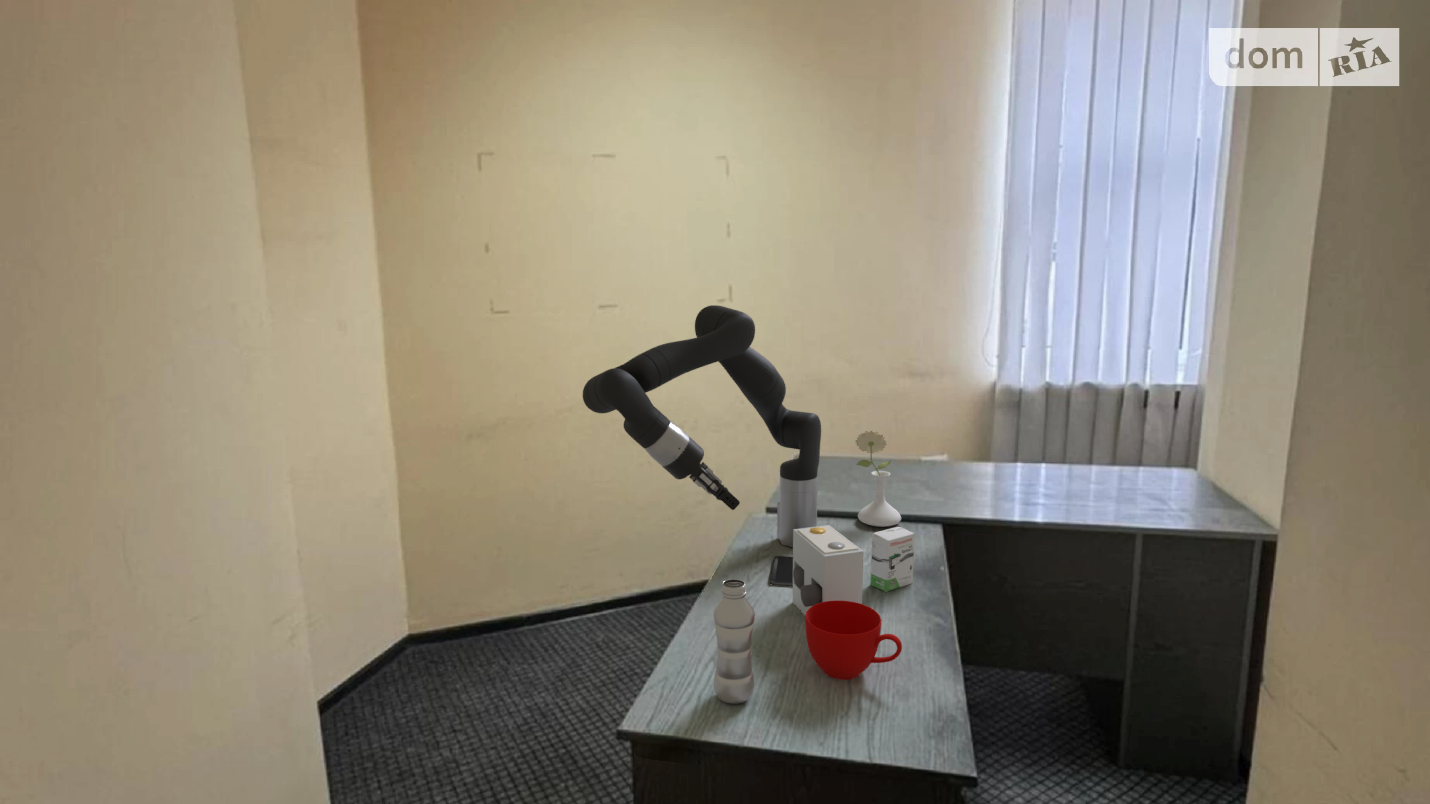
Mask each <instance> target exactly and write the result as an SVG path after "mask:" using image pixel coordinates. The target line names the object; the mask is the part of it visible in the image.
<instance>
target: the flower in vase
mask: <svg viewBox="0 0 1430 804" xmlns="http://www.w3.org/2000/svg"><path fill="white" fill-rule="evenodd" d="M854 441H855V444H856V446H857V447H858V449H859V450H860V451H862V452H866V453H867V454H870V460H868V459H861V460H859V461H858V462H857V463H855V464H856V465H857V466H861V467H864V468H869V467H871V465H873V467H874V469H875V470H874V471H871V473H870V474H871V475H872V477H873V479H874V483H875V497H874V500H872V501H871V502H870V503H869V504H868V505H866V506H864V507H863V508H861V510H860V511H858V513H857V518H858V520H859V521H860V522H861V523H863V524H866V525H868V526H872V527H878V528H879V527H881V528H883V527H885V528H886V527H891V526H895V525H897V524H899V523H900V522H901V521H902V516H901V514H900V512H898V510H897V509H895V507H893V506H892V505H891V504H890V503H888V502H887V500H886V497H885V489H886V484H887V481H888V479H889V478H890V475H891V472H889V471H885V470H880V469H884V468H887V467H888V466H889V465H890V464H891V462H892V461H891V460H889V461H884V462H882V463H880V464H878V466H877V467H876V465H875V463H874V462H873V454H875V453H879V452H882V451H884V449H886V446H887V445H888V443H887V441H886V437H885V436H884V434H881V433H879V431H873V430H870V431H867V430H865V432H861V433H860V434H859V435H858V437H856V439H855V440H854Z"/></svg>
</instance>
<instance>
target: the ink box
mask: <svg viewBox="0 0 1430 804" xmlns="http://www.w3.org/2000/svg"><path fill="white" fill-rule="evenodd" d="M915 536H916V535H915V532H913V531H911V530H907V529H906V528H904V527H900V526H895V527H891V528H887V529H884V530H880V531H876V532H875V531H874V532H873V533H872V537H871V538H872V539H871V559H870V560H871V561H870V562H871V563H870V565H871V566H870V586H873V587H875V588H877V589H879V590H881V591H883V592H885V593H886V592H890V591H893V590H895V589H899V588H902V587H905V586H908V585H911V584H913V581H914V579H913V578H914V577H913V576H914V558H915V557H914V555H915V554H914V553H915Z"/></svg>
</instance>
